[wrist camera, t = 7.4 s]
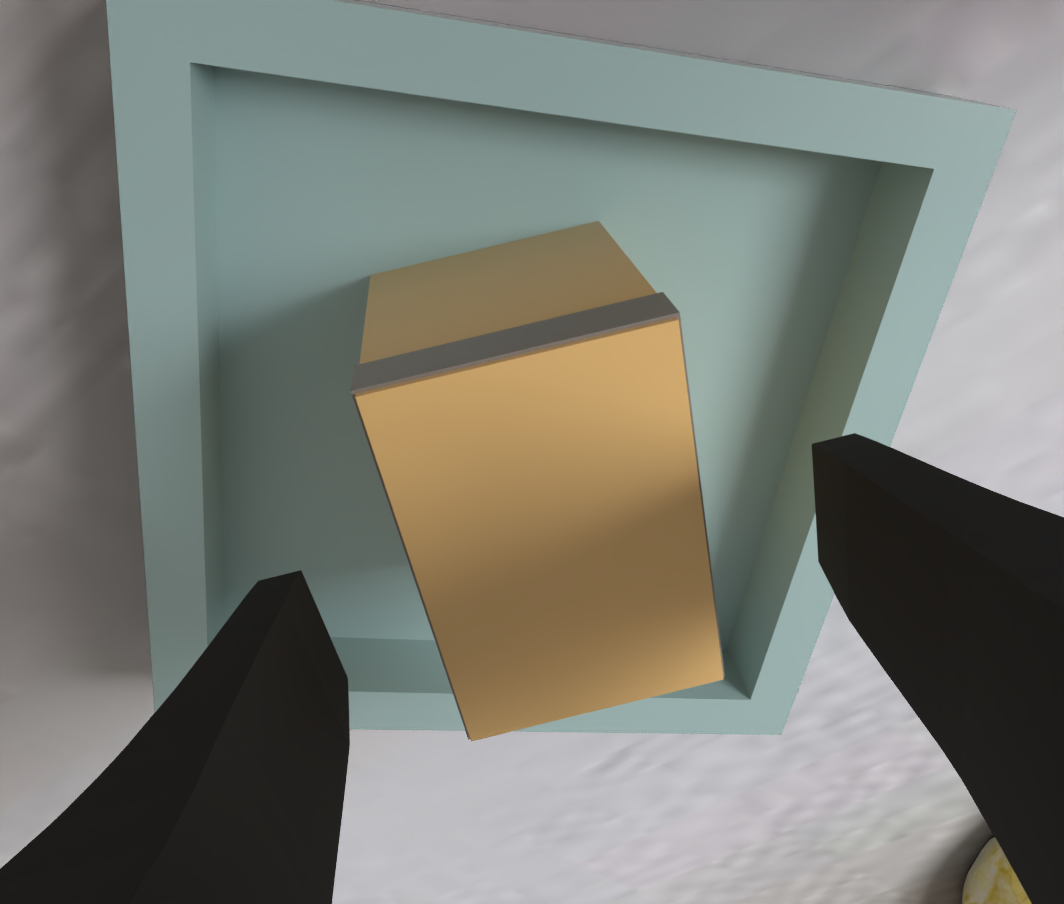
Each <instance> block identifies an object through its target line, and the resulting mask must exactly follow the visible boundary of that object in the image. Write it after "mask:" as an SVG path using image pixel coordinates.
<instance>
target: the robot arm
mask: <svg viewBox="0 0 1064 904" xmlns="http://www.w3.org/2000/svg"><path fill="white" fill-rule="evenodd" d="M812 461H813V478H814V495H815V512H816V529H817V546H818V562H819V564H820V566H821V568H822V570H823V572H824V574H825V576H826V578H827V579H828V581H829V583H830V585H831V587H832V589H833V591H834V593H835V595H836V597H837V599H838V601H839V602H840V604H841V606H842V608H843V610H844V611H845V613H846V615H847V617H848V619H849V621H850V622H851V623H852V625H853V626H854V628H855V629H856V631H857V632H858V634H859V635H860V636H861V638H862V639H863V641H864V642H865V643H866V645H867V646H868V648H869V649H870V650H871V652H872V653H873V655H874V656H875V657H876V659H877V660H878V662H879V663H880V664H881V666H882V667H883V669H884V670H885V671H886V673H887V674H888V676H889V677H890V678H891V680H892V681H893V682H894V684H895V685H896V687H897V688H898V689H899V691H900V692H901V693H902V695H903V696H904V698H905V699H906V700H907V702H908V703H909V704H910V706H911V707H912V709H913V710H914V711H915V713H916V714H917V716H918V717H919V718H920V720H921V721H922V722H923V724H924V725H925V727H926V728H927V729H928V731H929V732H930V733H931V735H932V736H933V738H934V739H935V740H936V742H937V743H938V745H939V746H940V747H941V749H942V750H943V752H944V753H945V755H946V756H947V758H948V759H949V761H950V762H951V764H952V765H953V767H954V768H955V770H956V771H957V773H958V775H959V776H960V778H961V779H962V781H963V783H964V784H965V786H966V788H967V790H968V791H969V793H970V795H971V796H972V798H973V800H974V802H975V803H976V805H977V807H978V809H979V810H980V812H981V814H982V816H983V817H984V819H985V821H986V822H987V824H988V826H989V828H990V829H991V831H992V833H993V835H994V836H995V838H996V840H997V842H998V843H999V845H1000V847H1001V849H1002V850H1003V852H1004V854H1005V856H1006V858H1007V860H1008V861H1009V863H1010V865H1011V867H1012V869H1013V870H1014V872H1015V874H1016V876H1017V878H1018V880H1019V881H1020V883H1021V885H1022V887H1023V889H1024V891H1025V892H1026V894H1027V896H1028V898H1029V900H1030V901H1031V903H1032V904H1064V517H1061V516H1058V515H1055V514H1052V513H1050V512H1047V511H1044V510H1041V509H1038V508H1036V507H1033V506H1030V505H1027V504H1025V503H1022V502H1019V501H1016V500H1014V499H1011V498H1009V497H1006V496H1004V495H1001V494H999V493H996V492H993V491H991V490H989V489H986V488H984V487H981V486H979V485H976V484H974V483H971V482H969V481H967V480H964V479H962V478H960V477H957V476H955V475H953V474H950V473H948V472H946V471H943V470H941V469H939V468H936V467H934V466H932V465H929V464H927V463H925V462H923V461H920V460H918V459H916V458H914V457H911V456H909V455H907V454H904V453H902V452H900V451H898V450H895V449H893V448H891V447H888V446H886V445H884V444H881V443H879V442H877V441H874V440H872V439H869V438H867V437H864V436H861V435H858V434H856V433H853V434H849V435H845V436H841V437H837V438H833V439H829V440H825V441H821V442H817V443H813V444H812ZM349 745H350V740H349V692H348V677H347V675H346V672H345V670H344V668H343V665H342V663H341V661H340V659H339V656H338V654H337V652H336V649H335V647H334V645H333V642H332V640H331V638H330V635H329V633H328V631H327V628H326V626H325V624H324V622H323V619H322V617H321V615H320V612H319V610H318V608H317V605H316V603H315V601H314V598H313V596H312V594H311V591H310V589H309V587H308V584H307V582H306V580H305V578H304V575H303V573H302V571H301V570H300V571H296V572H292V573H287V574H283V575H279V576H275V577H271V578H267V579H263V580H259V581H258V582H257V583H256V584H255V585H254V586H253V588H252V589H251V590H250V591H249V592H248V594H247V595H246V596H245V598H244V599H243V600H242V601H241V603H240V604H239V605H238V607H237V608H236V609H235V611H234V612H233V613H232V615H231V616H230V617H229V619H228V620H227V621H226V623H225V624H224V625H223V627H222V628H221V629H220V631H219V632H218V633H217V635H216V636H215V637H214V639H213V640H212V641H211V643H210V644H209V645H208V647H207V648H206V649H205V651H204V652H203V653H202V655H201V656H200V657H199V658H198V660H197V661H196V662H195V664H194V665H193V666H192V668H191V669H190V670H189V671H188V673H187V674H186V675H185V677H184V678H183V679H182V681H181V682H180V683H179V684H178V686H177V687H176V688H175V689H174V691H173V692H172V693H171V694H170V695H169V697H168V698H167V699H166V700H165V701H164V702H163V704H162V705H161V706H160V707H159V708H158V710H157V711H156V712H155V713H154V714H153V716H152V717H151V718H150V719H149V720H148V721H147V723H146V724H145V725H144V726H143V727H142V729H141V730H140V731H139V732H138V733H137V735H136V736H135V737H134V738H133V739H132V740H131V742H130V743H129V744H128V745H127V746H126V747H125V749H124V750H123V751H122V752H121V753H120V754H119V755H118V756H117V757H116V758H115V760H114V761H113V762H112V763H111V764H110V765H109V766H108V767H107V768H106V769H105V770H104V771H103V772H102V773H101V774H100V776H99V777H98V778H97V779H96V780H95V781H94V782H93V783H92V784H91V785H90V786H89V787H88V788H87V789H86V790H85V791H84V792H83V793H82V794H81V795H80V796H79V797H78V798H77V799H76V800H75V801H74V802H73V803H72V804H71V805H70V806H69V807H68V808H67V809H66V810H65V811H64V812H63V813H62V814H61V815H60V816H59V817H58V818H57V819H55V820H54V821H53V822H52V823H51V824H50V825H49V826H48V827H47V828H46V829H45V830H44V831H42V832H41V833H40V834H39V835H38V836H37V837H36V838H35V839H33V840H32V841H31V842H30V843H29V844H28V845H27V846H26V847H24V848H23V849H22V850H21V851H20V852H19V853H18V854H17V855H16V856H14V857H13V858H12V859H11V860H10V861H9V862H8V863H7V864H5V865H4V866H3V867H2V868H1V869H0V904H332V896H333V887H334V878H335V870H336V861H337V853H338V844H339V836H340V827H341V819H342V810H343V801H344V792H345V783H346V774H347V765H348V755H349Z"/></svg>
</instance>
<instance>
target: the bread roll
mask: <svg viewBox="0 0 1064 904" xmlns="http://www.w3.org/2000/svg"><path fill="white" fill-rule="evenodd" d="M962 904H1032V903H1031V901H1030V900H1029V898H1028V896H1027V894H1026V892H1025V891H1024V889H1023V887H1022V885H1021V883H1020V881H1019V880H1018V878H1017V876H1016V874H1015V872H1014V870H1013V869H1012V867H1011V865H1010V863H1009V861H1008V860H1007V858H1006V856H1005V854H1004V852H1003V850H1002V849H1001V847H1000V845H999V843H998V842H997V840H996V838H995V837H993V838H992V839H990V840H989V841H988V842H987V843H986V845H985V846H984V848H983V849H982V850H981V852H980V854H979V855H978V857H977V858H976V860H975V862H974V863H973V865H972V867H971V868H970V870H969V872H968V874H967V877H966V880H965V883H964V888H963V898H962Z"/></svg>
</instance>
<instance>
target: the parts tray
mask: <svg viewBox="0 0 1064 904" xmlns="http://www.w3.org/2000/svg"><path fill="white" fill-rule="evenodd" d="M106 8H107V22H108V37H109V51H110V66H111V81H112V95H113V110H114V125H115V139H116V154H117V168H118V183H119V198H120V212H121V227H122V241H123V256H124V271H125V285H126V300H127V315H128V329H129V344H130V358H131V373H132V388H133V402H134V417H135V432H136V446H137V461H138V475H139V490H140V505H141V519H142V534H143V549H144V563H145V578H146V592H147V607H148V622H149V636H150V651H151V666H152V680H153V695H154V709H155V712H156V711H157V710H158V708H159V707H160V706H161V705H162V704H163V702H164V701H165V700H166V699H167V698H168V697H169V695H170V694H171V693H172V692H173V691H174V689H175V688H176V687H177V686H178V684H179V683H180V682H181V681H182V679H183V678H184V677H185V675H186V674H187V673H188V671H189V670H190V669H191V668H192V666H193V665H194V664H195V662H196V661H197V660H198V658H199V657H200V656H201V655H202V653H203V652H204V651H205V649H206V648H207V647H208V645H209V644H210V643H211V641H212V640H213V639H214V637H215V636H216V635H217V633H218V632H219V631H220V629H221V628H222V627H223V625H224V624H225V623H226V621H227V620H228V619H229V617H230V616H231V615H232V613H233V612H234V611H235V609H236V608H237V607H238V605H239V604H240V603H241V601H242V600H243V599H244V598H245V596H246V595H247V594H248V592H249V591H250V590H251V589H252V588H253V586H254V585H255V584H256V583H257V582H258V581H259V580H263V579H267V578H271V577H275V576H279V575H283V574H287V573H292V572H296V571H300V570H301V571H302V573H303V575H304V578H305V580H306V582H307V584H308V587H309V589H310V591H311V594H312V596H313V598H314V601H315V603H316V605H317V608H318V610H319V612H320V615H321V617H322V619H323V622H324V624H325V626H326V628H327V631H328V633H329V635H330V638H331V640H332V642H333V645H334V647H335V649H336V652H337V654H338V656H339V659H340V661H341V663H342V665H343V668H344V670H345V672H346V675H347V677H348V692H349V729H376V730H451V731H465V728H464V725H463V722H462V719H461V716H460V713H459V710H458V707H457V704H456V701H455V698H454V695H453V692H452V689H451V687H450V684H449V681H448V678H447V675H446V672H445V669H444V666H443V663H442V660H441V657H440V654H439V651H438V648H437V645H436V642H435V639H434V636H433V633H432V630H431V627H430V625H429V622H428V619H427V616H426V613H425V610H424V607H423V604H422V601H421V598H420V595H419V592H418V589H417V586H416V583H415V580H414V577H413V574H412V571H411V568H410V565H409V563H408V560H407V557H406V554H405V551H404V548H403V545H402V542H401V539H400V536H399V533H398V530H397V527H396V524H395V521H394V518H393V515H392V512H391V509H390V506H389V503H388V501H387V498H386V495H385V492H384V489H383V486H382V483H381V480H380V477H379V474H378V471H377V468H376V465H375V462H374V459H373V456H372V453H371V450H370V447H369V444H368V441H367V439H366V436H365V433H364V430H363V427H362V424H361V421H360V418H359V415H358V412H357V409H356V406H355V403H354V400H353V397H352V394H351V391H350V390H351V383H352V376H353V369H354V365H358V364H359V363H360V355H361V347H362V339H363V331H364V323H365V315H366V307H367V299H368V291H369V283H370V276H371V275H373V274H377V273H381V272H385V271H389V270H394V269H398V268H402V267H406V266H411V265H415V264H419V263H423V262H427V261H432V260H436V259H440V258H444V257H448V256H453V255H457V254H461V253H465V252H470V251H474V250H478V249H482V248H486V247H491V246H495V245H499V244H503V243H508V242H512V241H516V240H520V239H524V238H529V237H533V236H537V235H541V234H545V233H550V232H554V231H558V230H562V229H567V228H571V227H575V226H579V225H583V224H588V223H592V222H596V221H599V222H600V223H601V224H602V225H603V227H604V228H605V229H606V230H607V232H608V233H609V234H610V235H611V237H612V238H613V239H614V240H615V242H616V243H617V244H618V245H619V247H620V248H621V249H622V250H623V252H624V253H625V254H626V255H627V257H628V258H629V259H630V260H631V261H632V263H633V264H634V265H635V266H636V268H637V269H638V270H639V271H640V273H641V274H642V275H643V276H644V278H645V279H646V280H647V281H648V283H649V284H650V285H651V286H652V288H653V289H654V290H655V291H656V293H660V292H663V293H664V294H665V295H666V296H667V297H668V299H669V300H670V301H671V302H672V303H673V305H674V306H675V307H676V308H677V310H678V311H679V312H680V318H681V326H682V334H683V342H684V350H685V358H686V367H687V375H688V383H689V391H690V399H691V407H692V415H693V423H694V431H695V439H696V447H697V455H698V463H699V471H700V479H701V487H702V496H703V504H704V512H705V520H706V528H707V536H708V544H709V552H710V560H711V568H712V576H713V584H714V592H715V600H716V608H717V616H718V625H719V633H720V641H721V649H722V657H723V665H724V673H725V677H723V679H724V680H720V681H716V682H711V683H707V684H703V685H699V686H695V687H691V688H687V689H683V690H679V691H675V692H671V693H667V694H662V695H658V696H654V697H650V698H646V699H642V700H638V701H634V702H630V703H626V704H622V705H618V706H613V707H609V708H605V709H601V710H597V711H593V712H589V713H585V714H581V715H577V716H573V717H569V718H564V719H560V720H556V721H552V722H548V723H544V724H540V725H536V726H532V727H528V728H524V729H520V730H515V731H526V732H601V733H677V734H752V735H781V734H782V732H783V729H784V726H785V724H786V721H787V718H788V716H789V713H790V710H791V708H792V705H793V702H794V700H795V697H796V694H797V692H798V689H799V687H800V684H801V681H802V679H803V676H804V673H805V671H806V668H807V665H808V663H809V660H810V657H811V655H812V652H813V649H814V647H815V644H816V641H817V639H818V636H819V633H820V631H821V628H822V625H823V623H824V620H825V617H826V615H827V612H828V610H829V607H830V604H831V602H832V599H833V596H834V594H835V593H834V591H833V589H832V587H831V585H830V583H829V581H828V579H827V578H826V576H825V574H824V572H823V570H822V568H821V566H820V564H819V562H818V546H817V529H816V512H815V495H814V478H813V461H812V444H813V443H817V442H821V441H825V440H829V439H833V438H837V437H841V436H845V435H849V434H853V433H856V434H858V435H861V436H864V437H867V438H869V439H872V440H874V441H877V442H879V443H881V444H884V445H886V446H888V447H890V445H891V442H892V440H893V437H894V434H895V432H896V429H897V426H898V424H899V421H900V418H901V416H902V413H903V410H904V408H905V405H906V402H907V400H908V397H909V394H910V392H911V389H912V387H913V384H914V381H915V379H916V376H917V373H918V371H919V368H920V365H921V363H922V360H923V357H924V355H925V352H926V349H927V347H928V344H929V341H930V339H931V336H932V333H933V331H934V328H935V325H936V323H937V320H938V317H939V315H940V312H941V310H942V307H943V304H944V302H945V299H946V296H947V294H948V291H949V288H950V286H951V283H952V280H953V278H954V275H955V272H956V270H957V267H958V264H959V262H960V259H961V256H962V254H963V251H964V248H965V246H966V243H967V241H968V238H969V235H970V233H971V230H972V227H973V225H974V222H975V219H976V217H977V214H978V211H979V209H980V206H981V203H982V201H983V198H984V195H985V193H986V190H987V187H988V185H989V182H990V179H991V177H992V174H993V171H994V169H995V166H996V164H997V161H998V158H999V156H1000V153H1001V150H1002V148H1003V145H1004V142H1005V140H1006V137H1007V134H1008V132H1009V129H1010V126H1011V124H1012V121H1013V118H1014V116H1015V113H1016V110H1015V109H1010V108H1005V107H1000V106H995V105H991V104H986V103H981V102H976V101H971V100H967V99H962V98H957V97H952V96H947V95H943V94H937V93H931V92H925V91H919V90H912V89H906V88H900V87H894V86H888V85H881V84H875V83H869V82H863V81H856V80H850V79H844V78H838V77H831V76H825V75H819V74H813V73H807V72H800V71H794V70H788V69H782V68H775V67H769V66H763V65H757V64H751V63H744V62H738V61H732V60H726V59H719V58H713V57H707V56H701V55H695V54H688V53H682V52H676V51H670V50H663V49H657V48H651V47H645V46H638V45H632V44H626V43H620V42H614V41H607V40H601V39H595V38H589V37H582V36H576V35H570V34H564V33H558V32H551V31H545V30H539V29H533V28H526V27H520V26H514V25H508V24H501V23H495V22H489V21H483V20H477V19H470V18H464V17H458V16H452V15H445V14H439V13H433V12H427V11H421V10H414V9H408V8H402V7H396V6H389V5H383V4H377V3H371V2H365V1H358V0H106Z"/></svg>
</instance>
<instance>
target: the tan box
mask: <svg viewBox="0 0 1064 904" xmlns="http://www.w3.org/2000/svg"><path fill="white" fill-rule="evenodd" d="M350 391H351V394H352V397H353V400H354V403H355V406H356V409H357V412H358V415H359V418H360V421H361V424H362V427H363V430H364V433H365V436H366V439H367V441H368V444H369V447H370V450H371V453H372V456H373V459H374V462H375V465H376V468H377V471H378V474H379V477H380V480H381V483H382V486H383V489H384V492H385V495H386V498H387V501H388V503H389V506H390V509H391V512H392V515H393V518H394V521H395V524H396V527H397V530H398V533H399V536H400V539H401V542H402V545H403V548H404V551H405V554H406V557H407V560H408V563H409V565H410V568H411V571H412V574H413V577H414V580H415V583H416V586H417V589H418V592H419V595H420V598H421V601H422V604H423V607H424V610H425V613H426V616H427V619H428V622H429V625H430V627H431V630H432V633H433V636H434V639H435V642H436V645H437V648H438V651H439V654H440V657H441V660H442V663H443V666H444V669H445V672H446V675H447V678H448V681H449V684H450V687H451V689H452V692H453V695H454V698H455V701H456V704H457V707H458V710H459V713H460V716H461V719H462V722H463V725H464V728H465V731H466V734H467V737H468V739H471V741H475V740H479V739H483V738H487V737H491V736H495V735H499V734H503V733H507V732H511V731H515V730H520V729H524V728H528V727H532V726H536V725H540V724H544V723H548V722H552V721H556V720H560V719H564V718H569V717H573V716H577V715H581V714H585V713H589V712H593V711H597V710H601V709H605V708H609V707H613V706H618V705H622V704H626V703H630V702H634V701H638V700H642V699H646V698H650V697H654V696H658V695H662V694H667V693H671V692H675V691H679V690H683V689H687V688H691V687H695V686H699V685H703V684H707V683H711V682H716V681H720V680H724V679H723V677H725V673H724V665H723V657H722V649H721V641H720V633H719V625H718V616H717V608H716V600H715V592H714V584H713V576H712V568H711V560H710V552H709V544H708V536H707V528H706V520H705V512H704V504H703V496H702V487H701V479H700V471H699V463H698V455H697V447H696V439H695V431H694V423H693V415H692V407H691V399H690V391H689V383H688V375H687V367H686V358H685V350H684V342H683V334H682V326H681V318H680V312H679V311H678V310H677V308H676V307H675V306H674V305H673V303H672V302H671V301H670V300H669V299H668V297H667V296H666V295H665V294H664V293H663V292H660V293H656V291H655V290H654V289H653V288H652V286H651V285H650V284H649V283H648V281H647V280H646V279H645V278H644V276H643V275H642V274H641V273H640V271H639V270H638V269H637V268H636V266H635V265H634V264H633V263H632V261H631V260H630V259H629V258H628V257H627V255H626V254H625V253H624V252H623V250H622V249H621V248H620V247H619V245H618V244H617V243H616V242H615V240H614V239H613V238H612V237H611V235H610V234H609V233H608V232H607V230H606V229H605V228H604V227H603V225H602V224H601V223H600V222H599V221H596V222H592V223H588V224H583V225H579V226H575V227H571V228H567V229H562V230H558V231H554V232H550V233H545V234H541V235H537V236H533V237H529V238H524V239H520V240H516V241H512V242H508V243H503V244H499V245H495V246H491V247H486V248H482V249H478V250H474V251H470V252H465V253H461V254H457V255H453V256H448V257H444V258H440V259H436V260H432V261H427V262H423V263H419V264H415V265H411V266H406V267H402V268H398V269H394V270H389V271H385V272H381V273H377V274H373V275H371V276H370V283H369V291H368V299H367V307H366V315H365V323H364V331H363V339H362V347H361V355H360V363H359V364H358V365H354V369H353V376H352V383H351V390H350Z"/></svg>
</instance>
